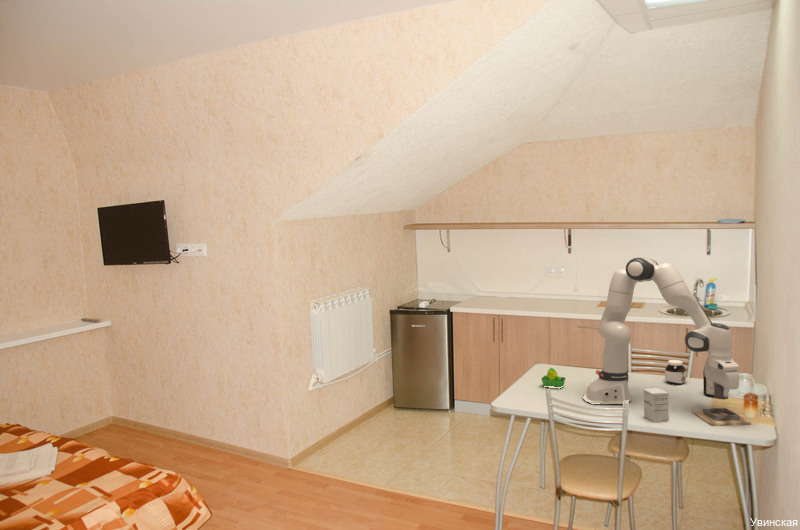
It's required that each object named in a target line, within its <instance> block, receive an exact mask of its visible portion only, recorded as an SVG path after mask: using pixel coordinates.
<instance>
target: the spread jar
mask: <svg viewBox="0 0 800 530" xmlns="http://www.w3.org/2000/svg"><path fill="white" fill-rule="evenodd" d="M664 379H665V382H666V383H668V384H669V383H670V385H672V384H674V385H673V386H681V385H684V384H685V382H686V381H687V370H686V367H685V366H684V365H683V361H682V360H678V359H670V360H668V361H667V365H666V367H665V369H664Z"/></svg>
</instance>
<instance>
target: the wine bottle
mask: <svg viewBox="0 0 800 530" xmlns="http://www.w3.org/2000/svg"><path fill="white" fill-rule="evenodd" d="M706 362H707V360H706V361H705V363H706ZM704 369H705V365H704V367H703V371H702V373H703V375H702V376H703V377H702V378H703V394H704V395H705V396H706V397H708V398H709V397H710V398H715V397H714V387H713V384H712V380H710V379H708V378H706V377H705V375H704Z"/></svg>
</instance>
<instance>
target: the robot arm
mask: <svg viewBox="0 0 800 530" xmlns="http://www.w3.org/2000/svg"><path fill="white" fill-rule="evenodd" d="M650 281H653V283H655V284H656V286H657V289H658V291H659V292H660V295H661V297H662V298H663V299H664V301H665V302H666V303H667V304H668V305H670V306H672V307H676V308H678V309H679V308H680V309H682V310H683V311H685V312H686V313H688V315H689V316H690V318H691V320H692V322H693V323H694V324H695V327H696V328H697V329H693V330H690V331H688V332H687V333H686V334H685V335H684V336H685V337H684V343H685V346H686V347H687V349H688V350H690V351H691V352H695V353H701V352H706V353H708V354H707V355H708V356H707V358H706V361H707V362H706V361H705V363H704V366H705V369H704V368H703V371H704V375H705V377H706V378H708V379H710V380H712V384H713V387H714V385H716V384H720V385H722V386H723V388H724V391H723V392H722V395H723V396H725V397H728V398H729V392H730V390H738V388H739V386H740V374H739V370H740V366H739V364H738V363H737V362H736V361H735V359H734V358H733V354H732V346H733V343H732V342H733V341H732V332H731V329H730V328H729V326H728V325H726V324H724V323H716V322H712V321H711V318H709V315H708V314H707V312H706V311H705V309H704V308H703V306H702V305H701V303H700V301H699V300H698V299H697V298H696V297H695V295H694V294H693V293H692V292H691V290H690V288H689V287H688V286H687V284H686V282H685V280H684V278H683V276H682V275H681V273H680V272H679V270H678V269H677V268H676V267H675V266H674V264H672V263H670V262H665V263H664V262H663V263H661V264H658V262H657V261H656V260H654V259H652V258H649V257H634V258H632V259H630V260H629V261H628V262H626V265H625V268H619V269H616V270H615V271H614V273H613V274H612V277H611V279H610V284H609V287H608V292H607V297H606V298H607V299H606V303H605V308H604V310H603V313H602V316H601V319H600V320H599V323H598V325H597V331H598V333H599V335H600V336H601V338H603V339H604V349H603V351H602V354H601V355H602V370H598V369H596V370H595V374H596V375H598V377H597V379H595V380H594V381H593V382H591V383H589V384H588V386H587V389H586V394H587V395H586V397H587V399H589V400H591V401H593V402H591V403H600V404H623V401H624V400H629V401H630V402H632V398H631V394H630V390H629V384H628V383H629V371H628V349H629V345H630V344H629V343H630V341H631V340H632V332H631V330H630V328H629V327H628V325H627V324H625V322H626V318H627V316H628V314H629V312H630V311H631V308H632V303H633V297H634V291H635V287H636V285H637V283H641V282H650Z"/></svg>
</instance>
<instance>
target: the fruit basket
mask: <svg viewBox="0 0 800 530" xmlns="http://www.w3.org/2000/svg"><path fill="white" fill-rule="evenodd" d="M540 379H541V382H542V386H543V385H544V386H554V387H561V386H563V385H565V382H566V377H564V376H559V375H558V372H557V370H555V369H554V368H553V367H550V368H549V369H547V373H546V375H544V376H542V377H541V378H540ZM544 386H543V387H544ZM563 387H564V386H563Z"/></svg>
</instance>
